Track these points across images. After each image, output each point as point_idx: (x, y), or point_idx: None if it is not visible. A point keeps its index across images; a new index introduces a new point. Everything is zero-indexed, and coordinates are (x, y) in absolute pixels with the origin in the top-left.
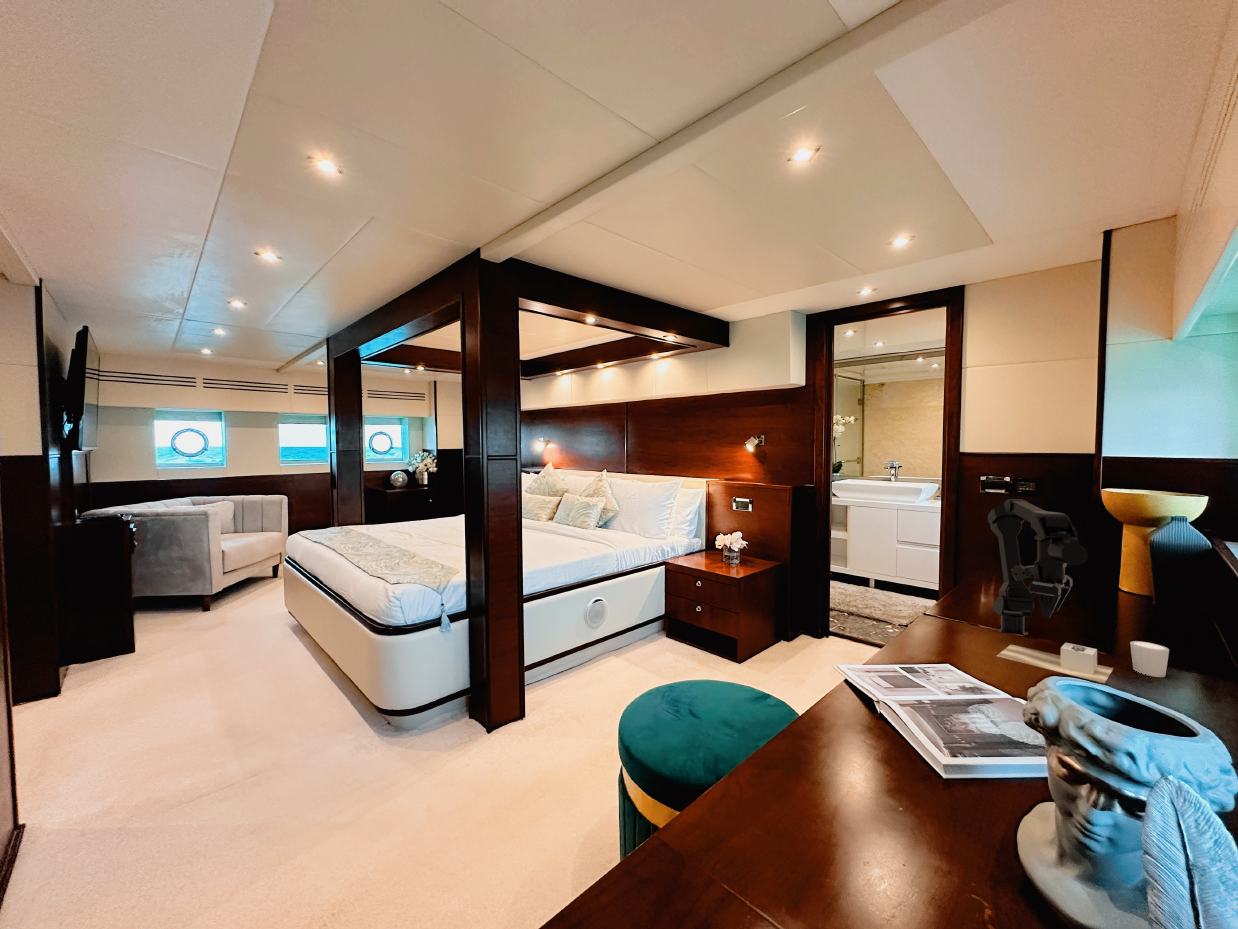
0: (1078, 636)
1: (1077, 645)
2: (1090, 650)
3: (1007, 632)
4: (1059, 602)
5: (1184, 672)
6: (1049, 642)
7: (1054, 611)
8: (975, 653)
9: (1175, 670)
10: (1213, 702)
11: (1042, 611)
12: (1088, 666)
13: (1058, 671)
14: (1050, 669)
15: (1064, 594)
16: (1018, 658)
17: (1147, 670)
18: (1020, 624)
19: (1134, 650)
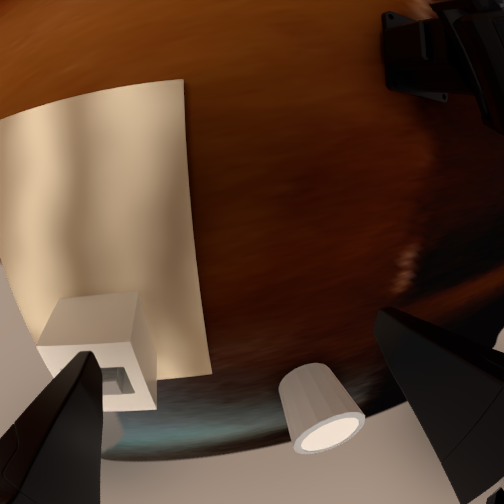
0: (490, 212)
1: (106, 384)
2: (116, 403)
3: (387, 39)
4: (414, 397)
5: (357, 395)
6: (410, 165)
7: (375, 322)
8: (13, 44)
9: (360, 388)
10: (201, 450)
11: (49, 385)
12: None
13: (19, 304)
14: (12, 286)
15: (446, 465)
16: (11, 184)
17: (281, 397)
18: (437, 80)
19: (304, 415)
